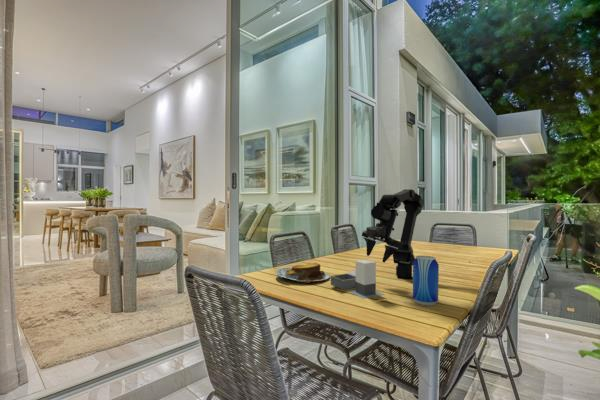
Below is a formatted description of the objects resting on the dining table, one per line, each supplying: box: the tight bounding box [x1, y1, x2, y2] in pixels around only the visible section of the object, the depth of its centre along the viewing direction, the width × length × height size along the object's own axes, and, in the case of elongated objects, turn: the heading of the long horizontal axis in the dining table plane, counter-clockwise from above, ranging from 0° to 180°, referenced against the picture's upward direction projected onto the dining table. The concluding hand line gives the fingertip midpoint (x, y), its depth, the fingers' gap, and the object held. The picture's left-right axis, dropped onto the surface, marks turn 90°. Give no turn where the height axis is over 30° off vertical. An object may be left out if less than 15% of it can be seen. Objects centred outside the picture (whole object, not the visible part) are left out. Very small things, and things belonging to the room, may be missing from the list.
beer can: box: [412, 255, 440, 306], centre depth 112 cm, size 8×8×16 cm
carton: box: [325, 269, 356, 290], centre depth 131 cm, size 14×8×5 cm, turn 117°
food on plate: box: [274, 262, 331, 283], centre depth 144 cm, size 25×25×7 cm
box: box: [354, 259, 377, 296], centre depth 121 cm, size 5×5×12 cm
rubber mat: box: [347, 289, 385, 299], centre depth 121 cm, size 10×10×1 cm
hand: (375, 258), depth 132 cm, fingers open, 9 cm apart
